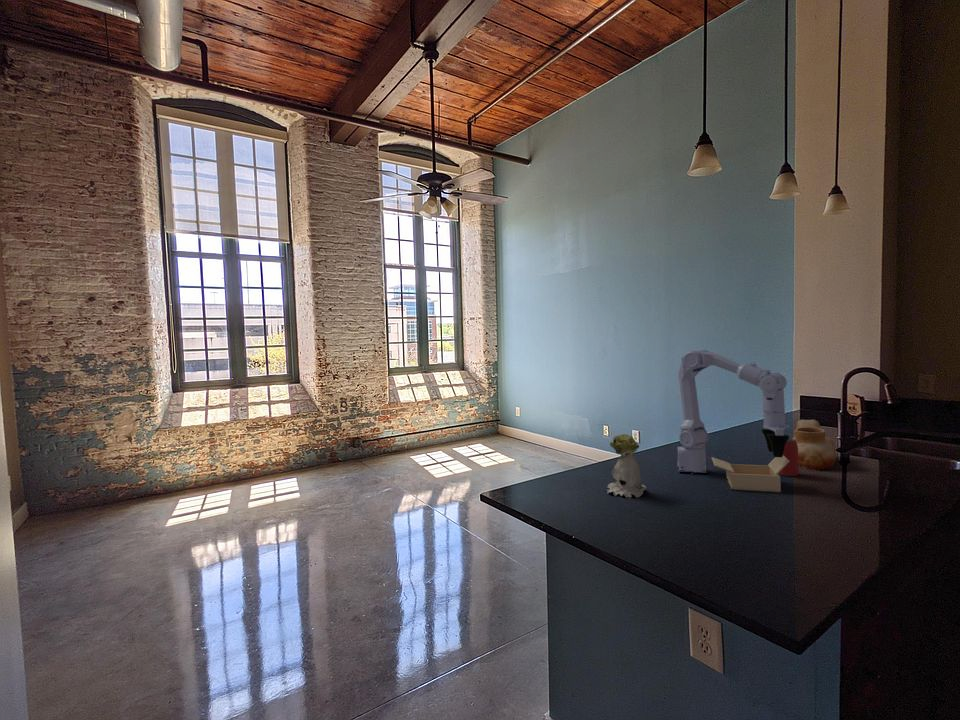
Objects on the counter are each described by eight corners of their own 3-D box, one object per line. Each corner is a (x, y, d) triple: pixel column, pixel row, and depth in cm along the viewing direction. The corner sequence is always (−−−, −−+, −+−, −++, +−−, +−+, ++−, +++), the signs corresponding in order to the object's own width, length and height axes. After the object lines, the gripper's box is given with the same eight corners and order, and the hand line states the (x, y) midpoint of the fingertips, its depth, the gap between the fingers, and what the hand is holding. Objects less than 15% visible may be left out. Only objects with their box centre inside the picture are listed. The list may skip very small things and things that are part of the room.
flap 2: (788, 460, 139) (789, 461, 139) (780, 452, 150) (781, 453, 150) (775, 473, 141) (776, 474, 141) (767, 464, 151) (768, 465, 151)
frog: (644, 486, 152) (642, 431, 152) (646, 499, 140) (644, 438, 139) (607, 485, 156) (605, 431, 155) (606, 497, 143) (604, 438, 143)
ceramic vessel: (831, 456, 180) (829, 418, 179) (840, 472, 157) (838, 429, 157) (788, 453, 187) (787, 417, 187) (791, 468, 165) (789, 427, 165)
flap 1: (734, 471, 145) (733, 472, 145) (729, 463, 156) (729, 464, 156) (715, 464, 147) (714, 466, 147) (711, 456, 158) (711, 457, 158)
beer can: (803, 476, 155) (802, 441, 155) (783, 477, 155) (782, 441, 155) (790, 471, 161) (789, 437, 161) (771, 472, 162) (770, 438, 161)
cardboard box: (731, 489, 145) (731, 473, 145) (726, 478, 157) (726, 463, 157) (780, 492, 140) (780, 476, 140) (771, 480, 152) (771, 465, 152)
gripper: (794, 414, 137) (796, 460, 137) (783, 408, 151) (784, 449, 151) (767, 414, 140) (769, 459, 140) (758, 408, 153) (760, 449, 153)
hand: (775, 454), depth 146 cm, fingers open, 7 cm apart
